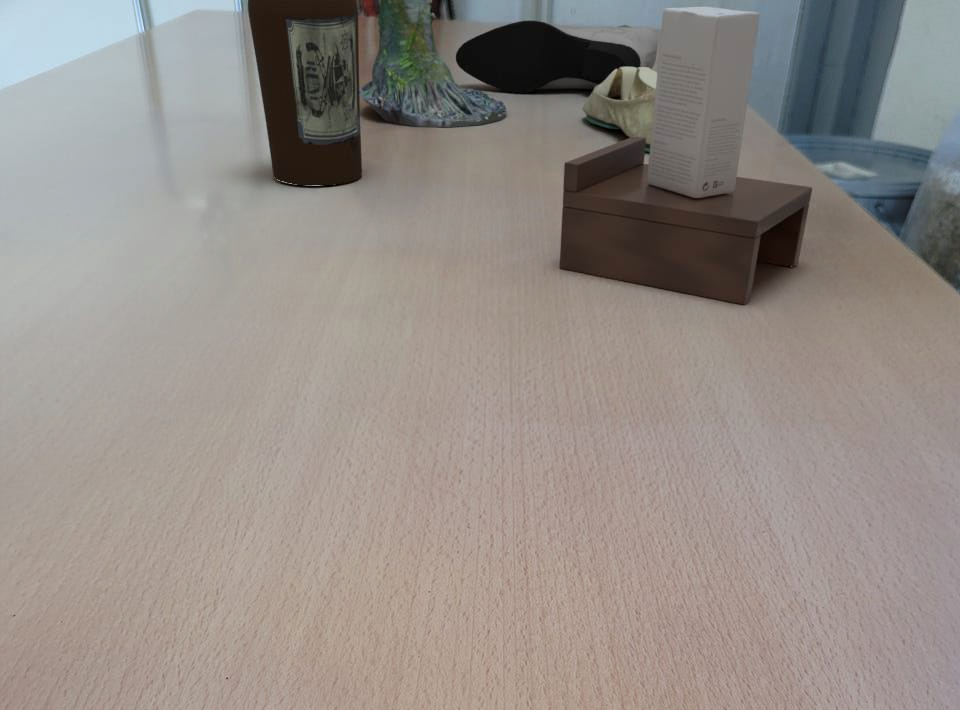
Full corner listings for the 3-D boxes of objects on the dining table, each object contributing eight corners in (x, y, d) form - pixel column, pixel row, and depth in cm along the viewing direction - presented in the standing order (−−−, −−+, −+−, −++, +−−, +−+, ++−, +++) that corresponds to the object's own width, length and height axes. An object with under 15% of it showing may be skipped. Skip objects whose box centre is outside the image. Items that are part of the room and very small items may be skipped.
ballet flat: (627, 114, 135) (632, 49, 131) (707, 153, 117) (717, 78, 112) (569, 117, 134) (573, 51, 129) (641, 156, 115) (648, 81, 110)
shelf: (798, 264, 83) (818, 159, 78) (744, 305, 75) (763, 191, 70) (625, 234, 90) (633, 136, 85) (559, 268, 82) (564, 162, 77)
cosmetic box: (736, 193, 78) (763, 12, 70) (694, 200, 76) (718, 15, 69) (684, 177, 82) (704, 4, 74) (643, 184, 80) (660, 7, 73)
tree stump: (452, 138, 125) (415, -31, 116) (342, 159, 137) (301, 8, 128) (534, 108, 136) (506, -48, 127) (425, 130, 148) (393, -11, 139)
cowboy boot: (640, 36, 139) (672, 19, 158) (455, 10, 144) (507, -3, 163) (628, 112, 145) (661, 87, 163) (451, 83, 150) (502, 62, 169)
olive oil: (252, 173, 108) (215, -117, 93) (339, 161, 113) (318, -117, 97) (294, 194, 101) (261, -117, 86) (386, 180, 106) (370, -117, 90)
